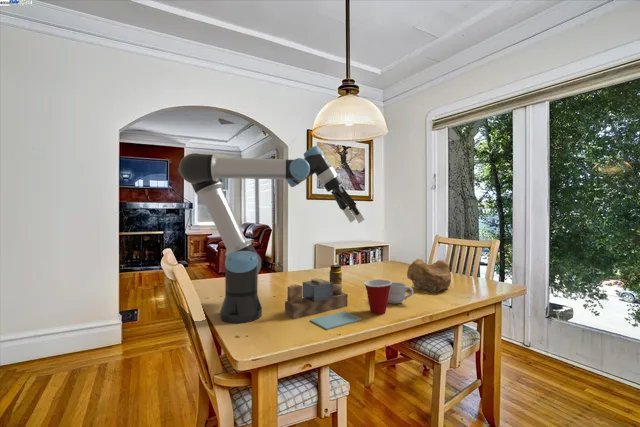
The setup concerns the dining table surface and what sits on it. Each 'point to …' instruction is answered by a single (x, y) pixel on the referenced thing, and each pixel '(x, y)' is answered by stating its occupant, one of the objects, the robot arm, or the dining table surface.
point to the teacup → (398, 292)
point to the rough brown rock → (429, 275)
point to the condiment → (336, 274)
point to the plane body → (305, 307)
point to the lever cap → (317, 290)
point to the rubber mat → (335, 320)
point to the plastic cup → (378, 295)
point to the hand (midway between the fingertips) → (357, 221)
